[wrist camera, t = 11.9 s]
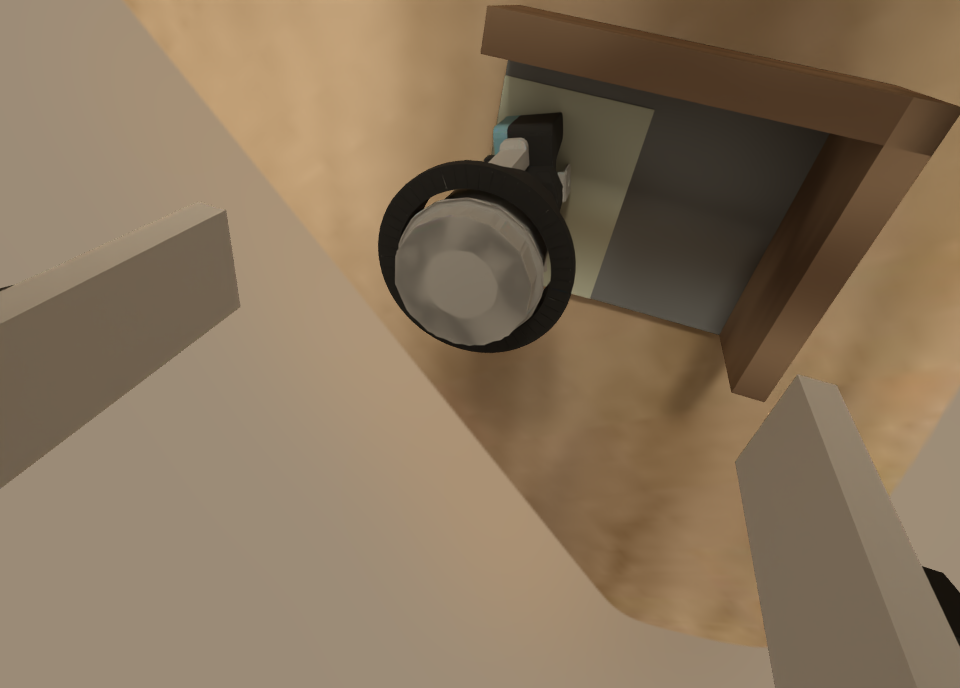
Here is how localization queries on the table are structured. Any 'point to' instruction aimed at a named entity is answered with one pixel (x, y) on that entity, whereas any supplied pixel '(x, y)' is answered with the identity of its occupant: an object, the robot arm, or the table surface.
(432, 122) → the table surface
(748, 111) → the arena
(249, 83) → the table surface
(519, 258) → the push button
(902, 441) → the table surface
